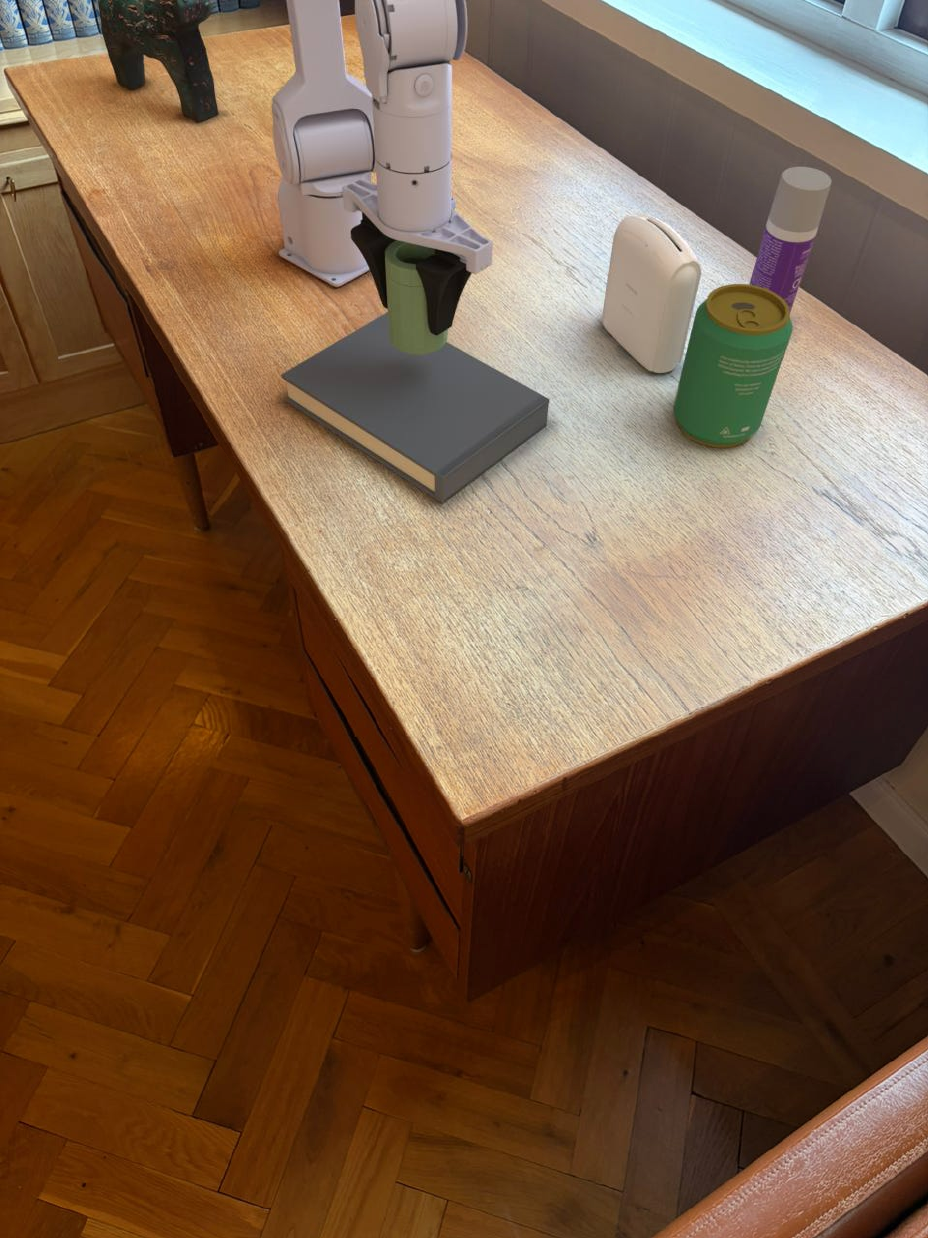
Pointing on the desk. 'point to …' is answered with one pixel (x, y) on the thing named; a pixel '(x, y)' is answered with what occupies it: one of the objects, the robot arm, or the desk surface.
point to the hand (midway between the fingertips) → (417, 316)
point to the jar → (409, 300)
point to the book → (417, 407)
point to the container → (791, 231)
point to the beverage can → (731, 364)
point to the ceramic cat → (161, 47)
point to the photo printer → (650, 291)
